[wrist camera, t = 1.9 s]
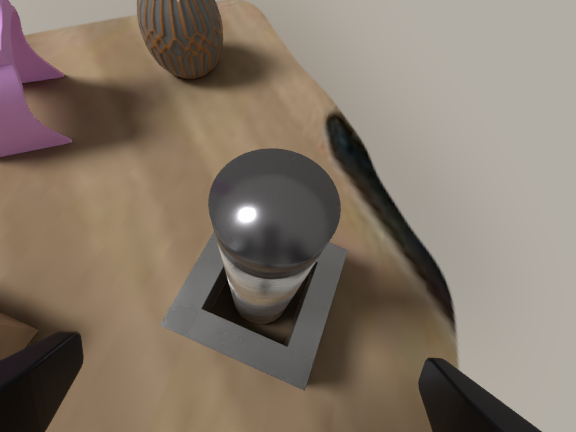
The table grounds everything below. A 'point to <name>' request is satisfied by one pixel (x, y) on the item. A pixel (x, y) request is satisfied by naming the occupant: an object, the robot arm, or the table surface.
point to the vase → (182, 34)
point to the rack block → (14, 335)
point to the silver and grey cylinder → (271, 226)
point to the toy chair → (21, 89)
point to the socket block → (242, 342)
